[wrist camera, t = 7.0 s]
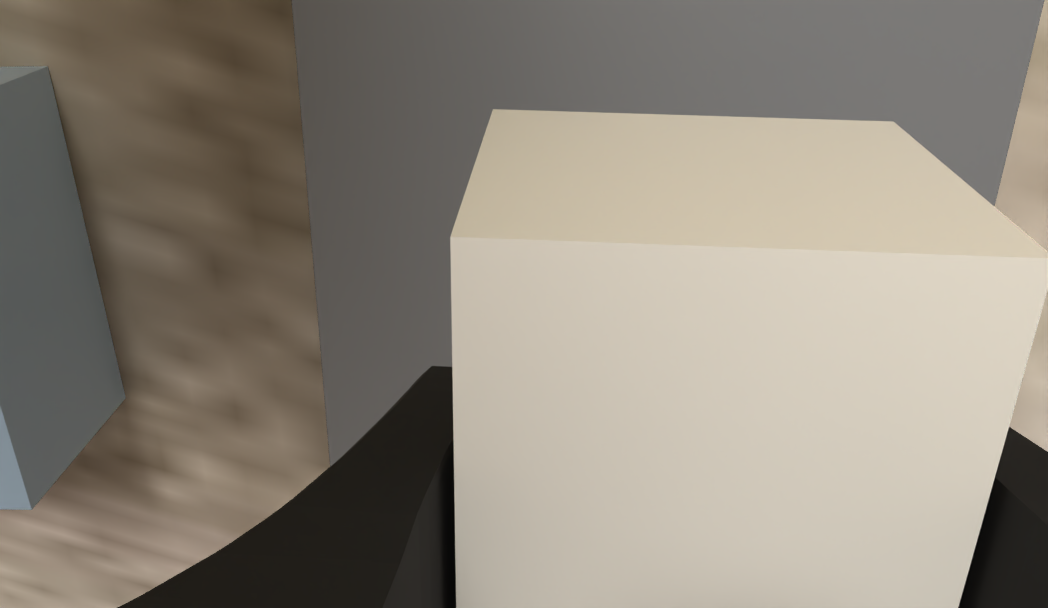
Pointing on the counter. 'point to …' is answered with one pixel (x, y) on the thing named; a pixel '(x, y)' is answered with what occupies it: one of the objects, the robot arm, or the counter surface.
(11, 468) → the blue brick
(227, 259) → the counter surface
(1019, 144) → the counter surface
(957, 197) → the cream brick
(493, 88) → the baseplate
